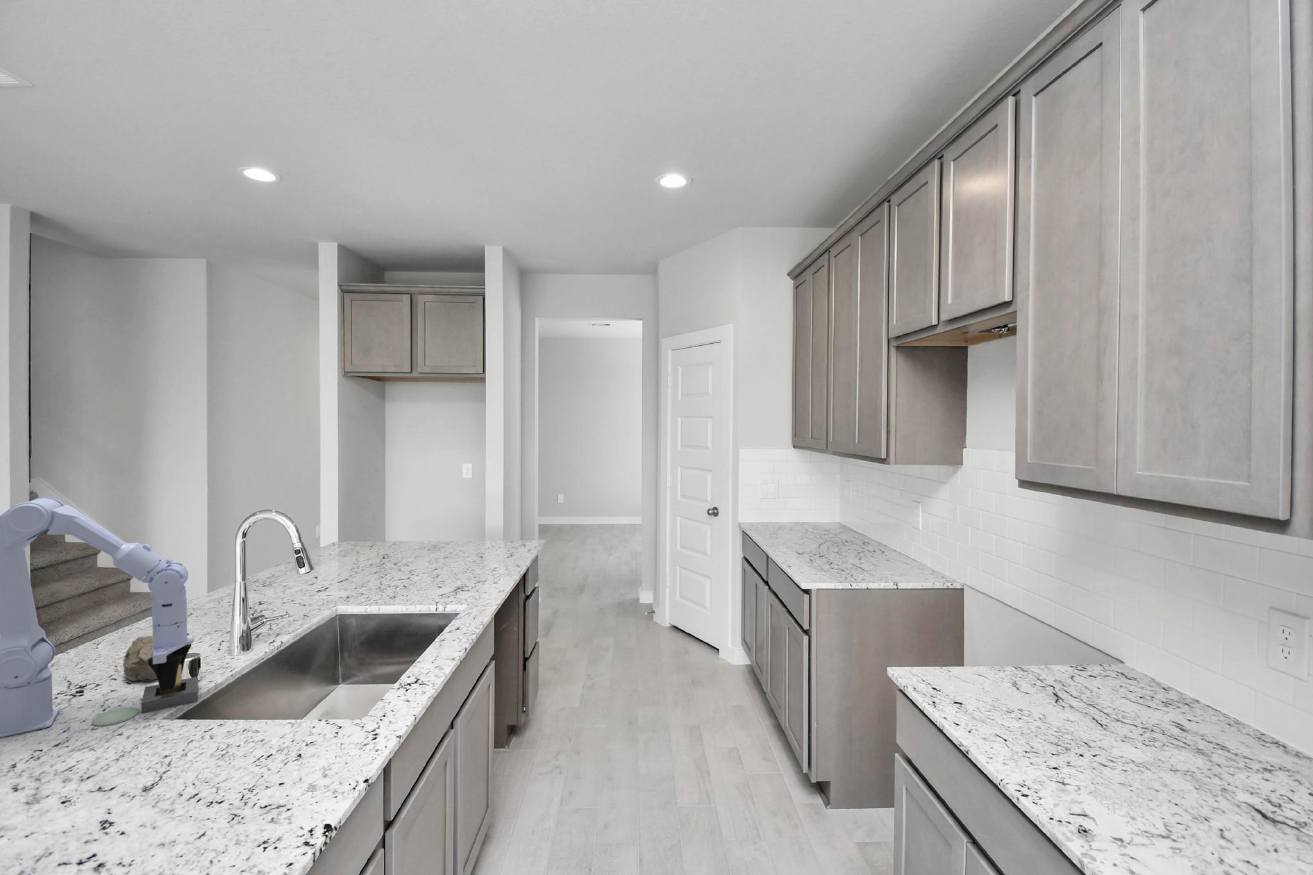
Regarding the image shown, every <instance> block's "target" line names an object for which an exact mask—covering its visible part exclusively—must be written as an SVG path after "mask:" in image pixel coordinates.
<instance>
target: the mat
mask: <svg viewBox="0 0 1313 875" xmlns="http://www.w3.org/2000/svg"><path fill="white" fill-rule="evenodd" d="M139 712H140V710H139V708H138V707H135V706H128V707H119V708H115V709H111V710H108V711H105V712H103V713H100V714H98V715H96V716H95V717H94V718H92V719H91V725H92V726H94V727H105V726H106V727H107V726H113V725H117V724H121V723H124V722H127V721H129V720H131V719H133V718H135V717H136V716H137V715H138V714H139Z"/></svg>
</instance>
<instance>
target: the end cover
mask: <svg viewBox="0 0 1313 875" xmlns="http://www.w3.org/2000/svg"><path fill="white" fill-rule="evenodd" d="M182 675H183V673H182V674H181V663H180V664H179V667H178V671H177V677H176V683H175V686H174V688H173V689H167V690H161V688H160V695H165V694H170V693H174V692H179V691H182V680H183V679H182Z"/></svg>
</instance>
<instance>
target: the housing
mask: <svg viewBox="0 0 1313 875" xmlns="http://www.w3.org/2000/svg"><path fill="white" fill-rule="evenodd" d="M198 693H199V676H193V677H188V678H183V679H182V691H179V692H174V693H170V694H165V695H160V686H159V683H157V684H154V685H148V686H145V687H144V690H143V694H142V698H141V705H140V706H141V715H142V714H146V713H150V712H155V711H160V710H164V709H168V708H174V707H177V706H181V705H187V704H190V703H192V704H193V703H197V702H198V696H199V694H198Z"/></svg>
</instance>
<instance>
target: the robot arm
mask: <svg viewBox="0 0 1313 875" xmlns="http://www.w3.org/2000/svg"><path fill="white" fill-rule="evenodd" d="M46 531H47V532H46ZM44 532H46V534H47V535H51V536H53V535H54V536H56V535H57V536H58V535H61V536H65V535H66V536H67V535H69V536H73V537H74V538H77V539H78V540H80V541H82V542H83V543H86V544H87V545H90V546H92V547H93V548H96V549H98V550H99V551H101V552H103V553H105V554H107V555H108V556H110V557H111V558H112V563H113V567H116V568H117V569H119V570H120V571H122V572H124V573H126V574H128V575H129V576H131V577H133V578H134V579H136V580H138V581H139V582H141V583H143V584H145V583H146V584H147V588H148V590H149V592H150V593H152V603H151V609H152V611H151V614H152V615H151V616H152V618H151V619H152V620H151V621H152V625H151V627H152V629H151V630H152V636H153V644H152V651H153V657H151V658H150V659H149V660H148V665H149V666H150V667H151V668H152V669H153V671H154V672H155V674H156V677H157V679H156V680H157V682H158V683H157V684H159V686H160V688H161V690H167V689H173V688H174V686H175V683H176V677H177V671H178V667H179V664H180V663H181V674H182V675H183V670H184V666H185V661H186V658H187V656H188V653H189V651H190V650H191V647H192V645H193V644H194V642H195V638H193V637H192V638H190V637H189V638H188V603H187V602H188V598H187V589H186V586H185V584H186V583H187V581H188V579H189V571H188V569H187V568H186V567H185V566H184V565H183V564H182V563H181V562H175V561H174V562H173V559H172V558H170V557H168V558H165V557H163V556H162V555H160V554H158V553H156V552H155V551H154V550H152V547H153V546H152V545H150V544H148V543H144V544H143V543H142V544H141V543H140V542H130V543H128V542H125V541H124V540H122V539H121V538H119V537H118V536H116V535H115V534H114V533H112V532H110V531H109V530H107V529H106V528H104V527H103V526H101V525H100V524H98V523H97V522H95V521H94V520H92V519H91V518H89V517H88V516H86V515H85V514H83V513H81V511H79V510H77V509H76V508H75V507H73V506H71V505H68V504H64V503H63V502H62V501H61V500H59V499H58V498H54V497H51V496H43V497H37V498H34V499H32V500H29V501H24V502H19V503H17V504H15V505H13V506H11V507H9V509H7V510H6V511H4V512H3V513H2V514H0V738H4V737H8V736H14V735H17V734H23V733H26V732H27V733H28V732H31V731H36V730H40V729H45V728H46V729H47V728H49V727H52V726H53V723H54V721H55V720H56V718H57V716H58V715H59V714H58V713H59V712H60V710H59V708H56V709H53V708H54V707H53V672H52V670H51V669H50V667H49V664H50V663H52V661H53V660H54V659H55V656H56V647H55V646H54V644H53V643H52V642H50V641H49V639H48V638H47V634H46V631H45V630H44V629H43V628H42V627H41V626H40V625H39V621H38V620H39V619H38V615H37V611H36V610H37V609H36V606H35V605H36V604H35V600H34V593H33V588H32V585H31V584H32V582H31V578H30V573H29V567H28V563H27V557H26V551H25V549H26V547H28V546H29V545H30V544H31V543H32V542H33V541H34V540H35V539H36V538H37V537H38V536H40V535H41V534H43V533H44Z"/></svg>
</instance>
